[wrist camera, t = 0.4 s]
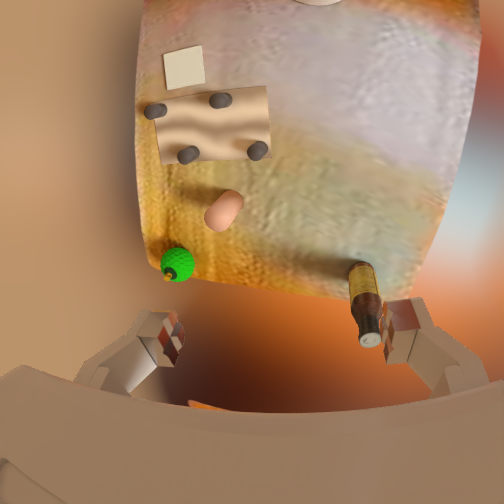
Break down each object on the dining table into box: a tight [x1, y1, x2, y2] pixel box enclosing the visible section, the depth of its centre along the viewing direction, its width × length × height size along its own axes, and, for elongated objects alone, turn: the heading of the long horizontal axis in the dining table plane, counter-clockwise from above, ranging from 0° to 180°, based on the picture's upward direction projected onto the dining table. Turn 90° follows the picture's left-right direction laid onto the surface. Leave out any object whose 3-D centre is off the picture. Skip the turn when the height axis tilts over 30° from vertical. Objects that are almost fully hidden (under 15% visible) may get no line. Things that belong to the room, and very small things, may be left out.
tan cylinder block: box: [204, 190, 243, 232], centre depth 56 cm, size 5×5×9 cm
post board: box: [144, 86, 272, 165], centre depth 51 cm, size 14×24×5 cm, turn 95°
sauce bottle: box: [348, 262, 383, 348], centre depth 53 cm, size 7×6×20 cm
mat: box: [163, 46, 206, 90], centre depth 47 cm, size 8×8×1 cm
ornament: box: [160, 247, 195, 282], centre depth 66 cm, size 8×8×10 cm
